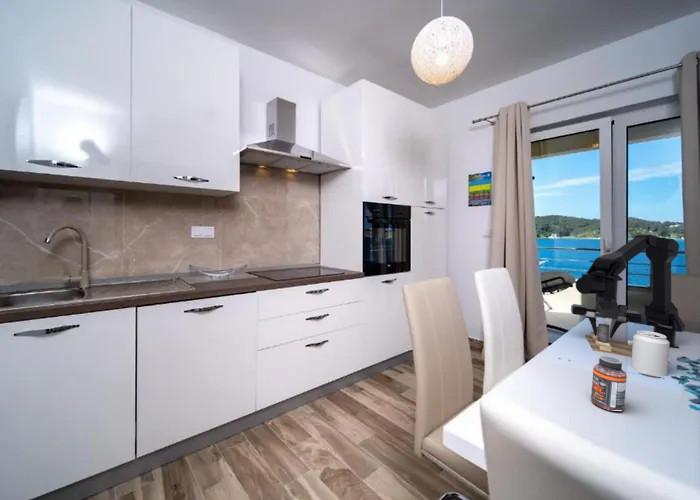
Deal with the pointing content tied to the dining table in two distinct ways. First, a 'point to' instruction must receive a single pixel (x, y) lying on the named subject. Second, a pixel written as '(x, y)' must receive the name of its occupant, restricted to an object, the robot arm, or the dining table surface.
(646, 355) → the can
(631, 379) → the dining table surface
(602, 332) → the lever
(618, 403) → the supplement bottle
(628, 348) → the keeper board
